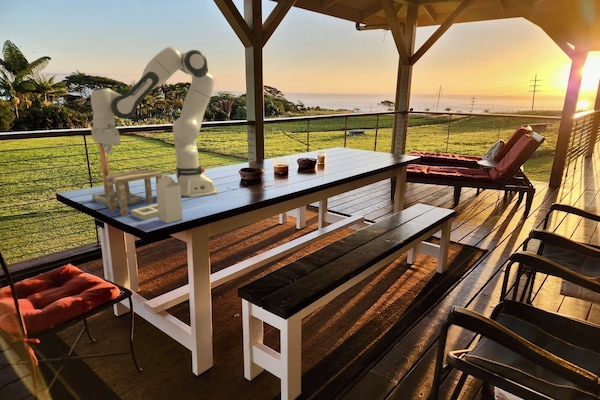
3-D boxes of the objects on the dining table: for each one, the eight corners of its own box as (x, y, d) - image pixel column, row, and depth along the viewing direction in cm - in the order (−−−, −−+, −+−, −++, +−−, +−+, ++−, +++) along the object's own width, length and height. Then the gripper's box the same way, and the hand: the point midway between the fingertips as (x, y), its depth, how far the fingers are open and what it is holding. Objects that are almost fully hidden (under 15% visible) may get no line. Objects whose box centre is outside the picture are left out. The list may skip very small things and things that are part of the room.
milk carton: (167, 223, 158) (163, 178, 153) (158, 219, 163) (154, 175, 158) (182, 219, 164) (179, 175, 158) (173, 216, 168) (170, 173, 163)
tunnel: (165, 206, 181) (162, 172, 177) (123, 216, 166) (119, 179, 161) (149, 201, 189) (146, 168, 184) (109, 210, 174) (104, 175, 169)
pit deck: (173, 212, 172) (173, 207, 172) (144, 220, 162) (143, 214, 161) (160, 208, 178) (160, 203, 178) (131, 215, 168) (131, 210, 167)
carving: (128, 200, 190) (125, 176, 187) (133, 203, 185) (131, 179, 181) (114, 202, 186) (111, 178, 182) (120, 206, 180) (117, 181, 177)
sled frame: (142, 201, 187) (136, 144, 180) (113, 207, 177) (106, 147, 169) (120, 194, 199) (114, 140, 192) (92, 199, 189) (85, 142, 181)
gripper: (122, 125, 177) (125, 155, 180) (101, 122, 189) (104, 150, 193) (108, 125, 172) (112, 156, 176) (87, 122, 184) (91, 151, 188)
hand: (108, 153), depth 184 cm, fingers closed
